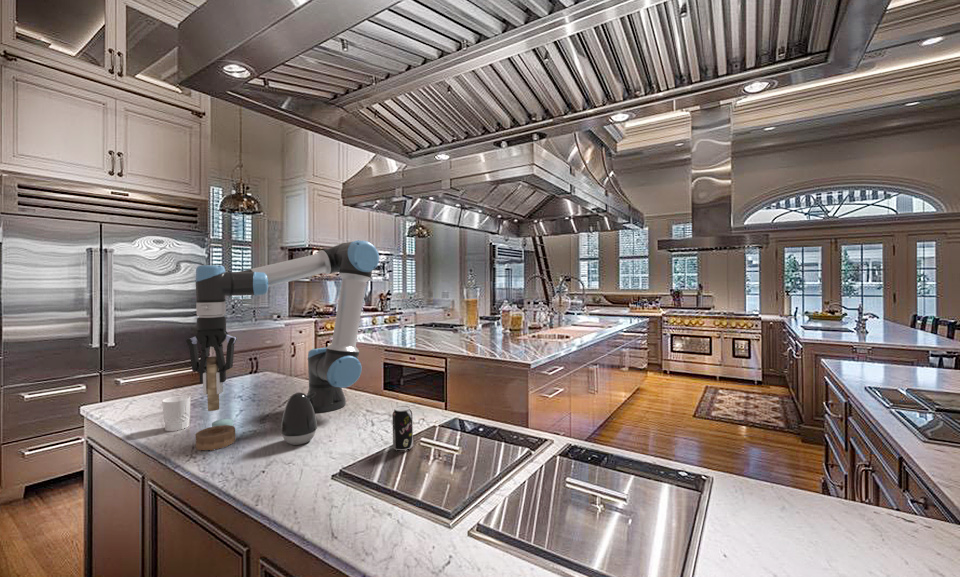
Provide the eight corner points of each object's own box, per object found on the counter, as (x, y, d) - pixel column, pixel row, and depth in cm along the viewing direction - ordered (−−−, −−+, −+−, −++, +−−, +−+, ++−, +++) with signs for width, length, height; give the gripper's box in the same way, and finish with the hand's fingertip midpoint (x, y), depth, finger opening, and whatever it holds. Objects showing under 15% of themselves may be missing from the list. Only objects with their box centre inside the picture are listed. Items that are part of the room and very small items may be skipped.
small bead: (236, 428, 145) (235, 418, 145) (229, 434, 139) (229, 424, 139) (216, 429, 143) (216, 419, 143) (209, 436, 138) (208, 425, 138)
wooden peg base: (239, 436, 137) (239, 424, 136) (227, 448, 127) (227, 435, 127) (205, 439, 135) (204, 426, 135) (190, 452, 125) (189, 438, 125)
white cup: (196, 424, 149) (195, 395, 149) (178, 432, 141) (177, 402, 141) (176, 423, 150) (175, 395, 150) (156, 431, 142) (155, 402, 142)
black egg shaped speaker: (324, 440, 132) (322, 391, 132) (290, 451, 124) (288, 399, 124) (308, 432, 139) (307, 386, 139) (275, 442, 131) (274, 393, 131)
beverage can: (416, 445, 127) (415, 405, 126) (407, 453, 121) (406, 411, 121) (399, 443, 129) (398, 404, 128) (389, 451, 123) (388, 410, 123)
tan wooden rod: (221, 407, 132) (219, 356, 132) (217, 410, 129) (215, 357, 129) (210, 408, 131) (209, 356, 131) (206, 411, 128) (204, 358, 128)
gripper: (175, 318, 124) (177, 398, 125) (235, 316, 127) (237, 394, 128) (187, 315, 132) (189, 391, 132) (244, 314, 135) (246, 388, 135)
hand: (213, 393), depth 130 cm, fingers closed on tan wooden rod, 3 cm apart
